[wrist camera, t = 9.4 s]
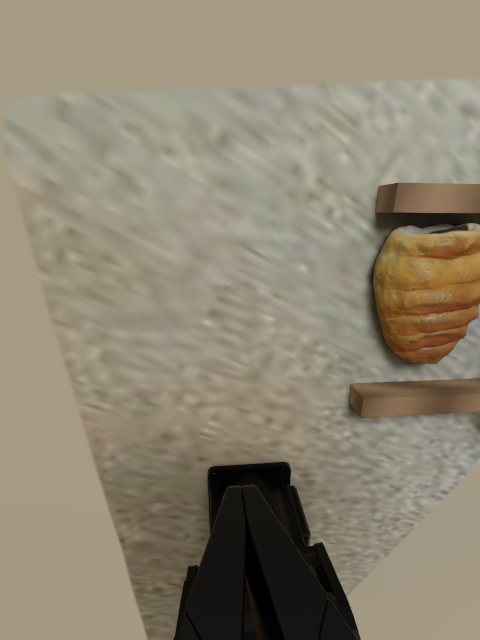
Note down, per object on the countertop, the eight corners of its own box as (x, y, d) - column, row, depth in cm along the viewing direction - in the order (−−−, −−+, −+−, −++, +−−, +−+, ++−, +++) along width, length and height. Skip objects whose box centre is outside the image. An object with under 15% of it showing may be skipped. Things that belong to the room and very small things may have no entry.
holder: (348, 401, 23) (383, 448, 19) (379, 185, 19) (436, 176, 14) (495, 394, 24) (563, 437, 20) (560, 189, 20) (671, 181, 15)
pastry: (452, 348, 23) (497, 373, 19) (364, 360, 23) (392, 388, 19) (469, 216, 20) (526, 216, 16) (367, 228, 20) (402, 232, 16)
